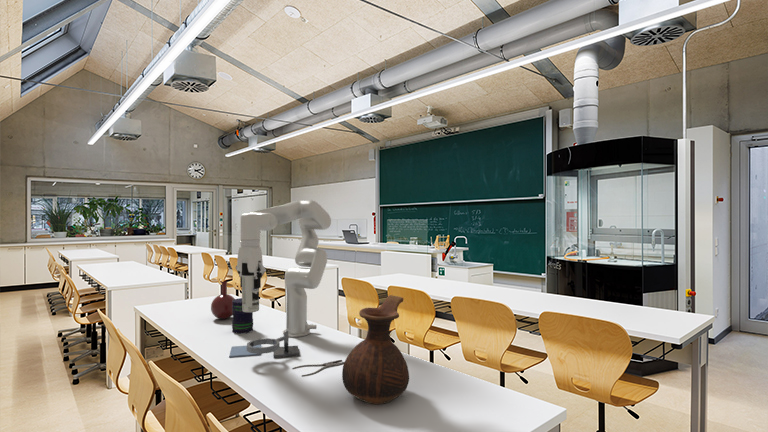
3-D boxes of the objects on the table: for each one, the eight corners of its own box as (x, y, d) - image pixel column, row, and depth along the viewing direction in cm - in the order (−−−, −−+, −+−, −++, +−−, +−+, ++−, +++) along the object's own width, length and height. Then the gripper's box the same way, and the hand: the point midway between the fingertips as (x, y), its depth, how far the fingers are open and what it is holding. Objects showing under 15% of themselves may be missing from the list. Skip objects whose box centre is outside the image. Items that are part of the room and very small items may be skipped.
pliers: (288, 368, 152) (330, 355, 167) (288, 371, 152) (330, 357, 167) (303, 376, 145) (346, 361, 160) (303, 378, 145) (346, 363, 160)
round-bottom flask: (231, 322, 217) (231, 284, 217) (206, 321, 217) (206, 283, 217) (240, 315, 230) (240, 280, 230) (216, 315, 230) (217, 279, 230)
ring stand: (297, 348, 176) (297, 327, 176) (301, 364, 157) (301, 341, 157) (248, 352, 171) (248, 330, 171) (245, 369, 152) (246, 345, 152)
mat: (261, 345, 179) (261, 344, 179) (260, 355, 168) (260, 353, 168) (231, 348, 176) (231, 346, 176) (229, 357, 164) (229, 356, 164)
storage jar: (249, 333, 197) (249, 302, 196) (228, 333, 197) (228, 302, 197) (256, 328, 206) (256, 298, 206) (236, 327, 207) (236, 297, 207)
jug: (420, 406, 125) (421, 306, 125) (350, 415, 119) (351, 310, 118) (397, 378, 146) (398, 293, 145) (336, 384, 139) (337, 296, 139)
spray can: (254, 313, 165) (254, 263, 165) (238, 312, 166) (238, 262, 166) (262, 309, 172) (261, 261, 171) (246, 308, 173) (246, 260, 173)
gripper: (227, 243, 169) (228, 287, 170) (259, 245, 161) (259, 291, 162) (241, 242, 176) (242, 284, 176) (273, 244, 168) (273, 287, 168)
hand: (250, 287), depth 169 cm, fingers closed on spray can, 6 cm apart
